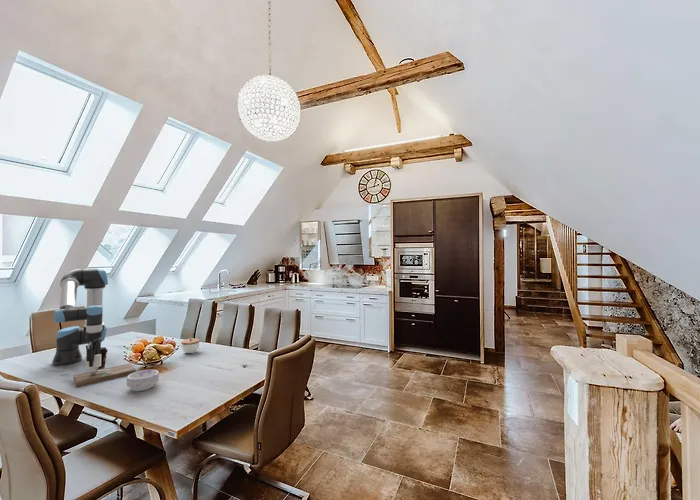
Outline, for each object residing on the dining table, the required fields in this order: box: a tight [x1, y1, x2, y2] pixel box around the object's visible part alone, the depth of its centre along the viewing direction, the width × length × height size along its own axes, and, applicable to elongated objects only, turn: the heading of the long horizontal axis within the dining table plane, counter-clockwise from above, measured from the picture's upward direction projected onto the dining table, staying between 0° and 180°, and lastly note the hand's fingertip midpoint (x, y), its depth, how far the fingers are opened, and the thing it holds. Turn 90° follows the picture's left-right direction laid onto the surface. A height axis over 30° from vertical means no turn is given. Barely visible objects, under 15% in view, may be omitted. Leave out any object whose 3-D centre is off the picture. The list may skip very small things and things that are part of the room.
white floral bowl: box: [126, 369, 160, 392], centre depth 174 cm, size 15×15×8 cm
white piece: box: [84, 354, 112, 375], centre depth 185 cm, size 2×12×12 cm, turn 119°
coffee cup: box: [96, 347, 108, 370], centre depth 200 cm, size 9×8×13 cm
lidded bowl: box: [181, 337, 201, 354], centre depth 234 cm, size 13×13×11 cm
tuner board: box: [73, 363, 137, 388], centre depth 188 cm, size 15×28×3 cm, turn 137°
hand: (93, 370), depth 184 cm, fingers closed on white piece, 3 cm apart
